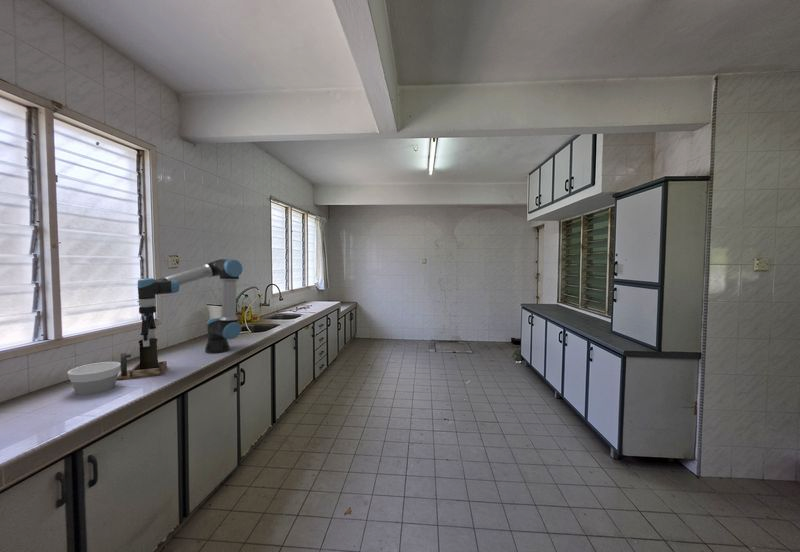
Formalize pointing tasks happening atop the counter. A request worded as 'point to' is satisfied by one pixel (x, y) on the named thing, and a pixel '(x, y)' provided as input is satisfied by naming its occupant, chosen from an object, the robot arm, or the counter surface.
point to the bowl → (94, 377)
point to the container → (148, 355)
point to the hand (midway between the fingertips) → (149, 343)
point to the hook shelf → (136, 371)
